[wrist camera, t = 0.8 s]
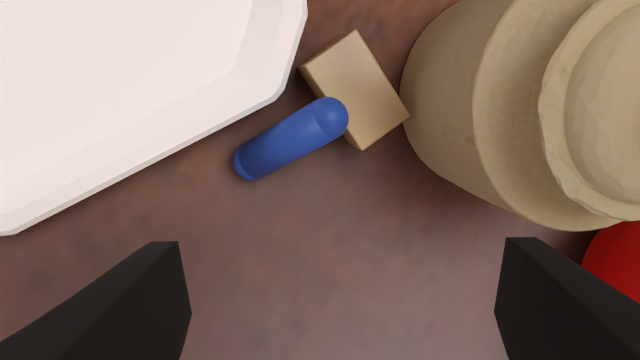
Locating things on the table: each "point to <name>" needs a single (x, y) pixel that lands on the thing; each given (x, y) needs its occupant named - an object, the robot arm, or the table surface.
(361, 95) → the maple block
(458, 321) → the table surface
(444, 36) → the sugar bowl
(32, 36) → the plate
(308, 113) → the blue marker
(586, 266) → the tomato
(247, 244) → the table surface
